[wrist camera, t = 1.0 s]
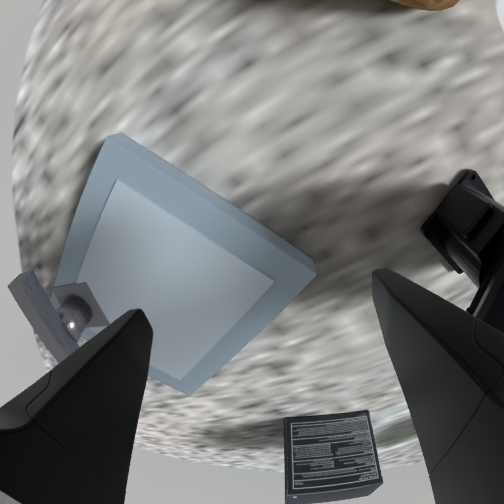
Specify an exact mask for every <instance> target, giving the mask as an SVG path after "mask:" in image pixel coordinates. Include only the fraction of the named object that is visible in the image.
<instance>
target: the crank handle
mask: <svg viewBox="0 0 504 504" xmlns="http://www.w3.org/2000/svg"><path fill="white" fill-rule="evenodd" d="M8 288H9V289H10V291H11V293H12V295H13V297H14V298H15V300H16V302H17V303H18V305H19V307H20V308H21V309H22V311H23V313H24V315H25V316H26V318H27V319H28V321H29V322H30V324H31V325H32V327H33V328H34V330H35V331H36V333H37V334H38V336H39V337H40V339H41V340H42V341H43V343H44V344H45V346H46V347H47V348H48V350H49V351H50V352H51V354H52V355H53V356H54V358H55V359H56V360H57V362H58V363H61V362H62V361H63V360H64V359H66V358H67V357H68V356H69V355H71V354H72V353H73V352H75V351H76V350H77V349H78V348H80V347H79V345H78V344H77V341H78V339H79V338H80V336H81V334H82V333H83V331H84V330H85V328H86V327H87V325H88V323H89V322H90V320H91V319H92V311H91V308H90V307H89V305H88V304H87V303H86V302H85V301H84V300H83V299H81V298H80V297H77V296H74V295H70V296H68V297H67V298H66V299H65V300H64V302H63V303H62V304H61V305H60V307H59V308H58V309H57V311H56V310H55V309H54V307H53V305H52V304H51V302H50V300H49V299H48V297H47V295H46V293H45V292H44V290H43V288H42V286H41V285H40V283H39V281H38V279H37V277H36V275H35V274H34V272H33V270H32V271H29V272H25V273H22V274H19V275H18V276H17V277H16V278H15V279H14V280H13V281H12V282H11V283H10V284H9V285H8Z"/></svg>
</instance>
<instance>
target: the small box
mask: <svg viewBox="0 0 504 504" xmlns="http://www.w3.org/2000/svg"><path fill="white" fill-rule="evenodd" d="M284 425H285V427H284V458H285V459H284V460H285V504H312V503H322V502H330V501H338V500H345V499H351V498H358V497H363V496H368V495H370V494H371V493H372V492H374V491H375V490H376V489H377V488H378V487H379V486H380V485H382V484H383V479H382V476H381V470H380V465H379V460H378V454H377V449H376V444H375V439H374V435H373V429H372V425H371V421H370V413H369V411H368V410H365V411H358V412H351V413H343V414H334V415H322V416H311V417H292V418H286V419H285V420H284Z"/></svg>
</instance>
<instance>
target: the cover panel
mask: <svg viewBox="0 0 504 504" xmlns="http://www.w3.org/2000/svg"><path fill="white" fill-rule="evenodd" d="M316 275H317V272H316V268H315V264H314V260H313V259H312V258H310V257H309V256H308V255H306V254H305V253H303V252H302V251H300V250H299V249H297V248H296V247H295V246H293V245H292V244H290V243H289V242H287V241H286V240H284V239H283V238H281V237H280V236H279V235H277V234H276V233H274V232H273V231H271V230H270V229H268V228H267V227H265V226H264V225H262V224H261V223H259V222H258V221H257V220H255V219H254V218H252V217H251V216H249V215H248V214H246V213H245V212H243V211H242V210H240V209H239V208H237V207H236V206H234V205H233V204H231V203H230V202H228V201H227V200H225V199H224V198H222V197H221V196H219V195H218V194H216V193H215V192H213V191H212V190H210V189H208V188H207V187H205V186H204V185H202V184H201V183H199V182H198V181H196V180H195V179H193V178H192V177H190V176H189V175H187V174H185V173H184V172H182V171H181V170H179V169H178V168H176V167H175V166H173V165H171V164H170V163H168V162H167V161H165V160H164V159H162V158H161V157H159V156H157V155H156V154H154V153H153V152H151V151H149V150H148V149H146V148H145V147H143V146H142V145H140V144H138V143H137V142H135V141H134V140H132V139H130V138H129V137H127V136H126V135H124V134H122V133H118V134H115V135H111V136H108V137H107V138H106V140H105V142H104V144H103V146H102V148H101V150H100V153H99V155H98V157H97V159H96V162H95V164H94V166H93V169H92V171H91V173H90V176H89V178H88V181H87V183H86V186H85V188H84V191H83V193H82V196H81V199H80V202H79V204H78V207H77V210H76V213H75V216H74V219H73V221H72V224H71V228H70V231H69V234H68V237H67V240H66V244H65V247H64V250H63V254H62V257H61V261H60V265H59V269H58V273H57V277H56V281H55V285H54V287H53V288H52V289H51V290H52V292H53V294H52V298H51V304H52V305H53V307H54V309H55V310H56V311H57V309H58V308H59V307H60V305H61V304H62V303H63V302H64V300H65V299H66V298H67V297H68V296H70V295H74V296H77V297H80V298H81V299H83V300H84V301H85V302H86V303H87V304H88V305H89V307H90V308H91V311H92V319H91V320H90V322H89V323H88V325H87V327H86V328H85V330H84V331H83V333H82V334H81V336H82V337H84V338H85V339H87V340H88V341H89V340H90V339H91V338H93V337H94V336H95V335H96V334H98V333H99V332H100V331H102V330H103V329H104V328H106V327H107V326H108V325H110V324H111V323H112V322H114V321H115V320H116V319H117V318H119V317H120V316H121V315H123V314H124V313H125V312H127V311H128V310H130V309H138V308H140V309H142V310H143V311H144V313H145V315H146V317H147V319H148V321H149V322H150V324H151V326H152V328H153V342H152V349H151V356H150V364H149V371H148V375H149V376H151V377H152V378H154V379H156V380H158V381H160V382H162V383H164V384H166V385H168V386H170V387H172V388H174V389H177V390H179V391H181V392H183V393H185V394H187V395H189V396H190V395H191V394H193V393H194V392H195V391H196V390H197V389H198V388H199V387H201V386H202V385H203V384H204V383H205V382H206V381H207V380H208V379H210V378H211V377H212V376H213V375H214V374H215V373H216V372H217V371H218V370H220V369H221V368H222V367H223V366H224V365H225V364H226V363H227V362H228V361H229V360H231V359H232V358H233V357H234V356H235V355H236V354H237V353H238V352H239V351H240V350H241V349H242V348H243V347H245V346H246V345H247V344H248V343H249V342H250V341H251V340H252V339H253V338H254V337H255V336H256V335H257V334H258V333H259V332H260V331H261V330H262V329H263V328H264V327H266V326H267V325H268V324H269V323H270V322H271V321H272V320H273V319H274V318H275V317H276V316H277V315H278V314H279V313H280V312H281V311H282V310H283V309H284V308H285V307H286V306H287V305H288V304H289V303H290V302H291V301H292V300H293V299H294V298H295V297H296V296H297V295H298V294H299V293H300V292H301V291H302V290H303V289H304V288H305V287H306V286H307V285H308V284H309V283H310V282H311V281H312V279H313V278H314V277H315V276H316Z"/></svg>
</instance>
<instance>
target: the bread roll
mask: <svg viewBox="0 0 504 504" xmlns="http://www.w3.org/2000/svg"><path fill="white" fill-rule="evenodd" d="M391 1H394V2H397V3H400V4H402V5H404V6H408V7H412V8H416V9H420V10H429V11H441V10H444V9H447V8H450V7H453V6H454V5H455V4H456V3H457V2H458V1H459V0H391Z"/></svg>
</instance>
